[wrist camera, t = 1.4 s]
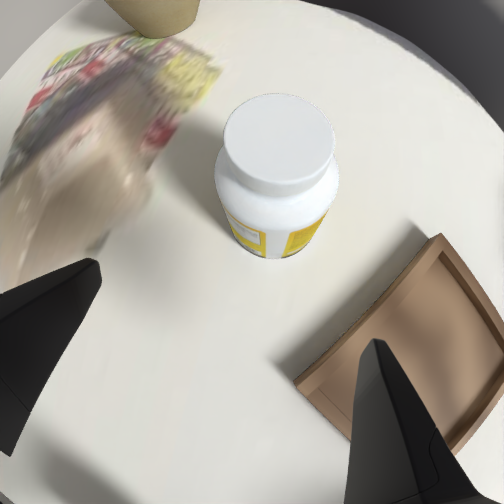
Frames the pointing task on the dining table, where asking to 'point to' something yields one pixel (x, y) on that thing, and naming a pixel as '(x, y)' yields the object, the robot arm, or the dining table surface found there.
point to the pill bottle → (276, 173)
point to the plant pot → (157, 15)
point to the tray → (423, 346)
